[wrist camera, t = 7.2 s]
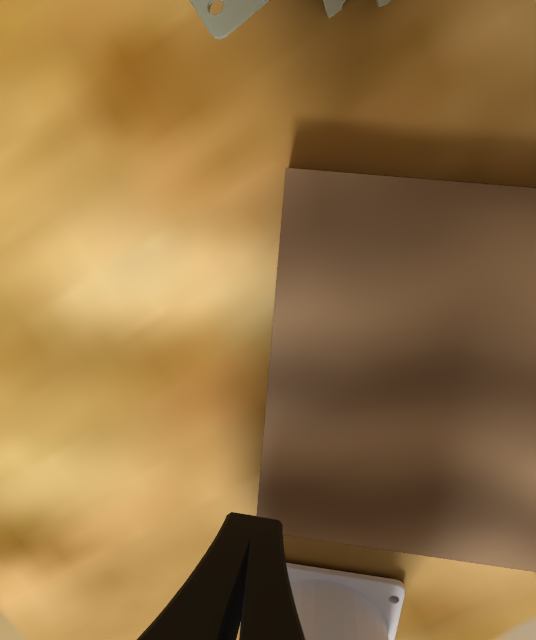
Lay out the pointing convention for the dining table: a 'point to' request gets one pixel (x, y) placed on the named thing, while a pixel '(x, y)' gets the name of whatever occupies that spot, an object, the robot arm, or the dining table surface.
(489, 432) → the bench board
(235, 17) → the metal bracket
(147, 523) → the dining table surface
